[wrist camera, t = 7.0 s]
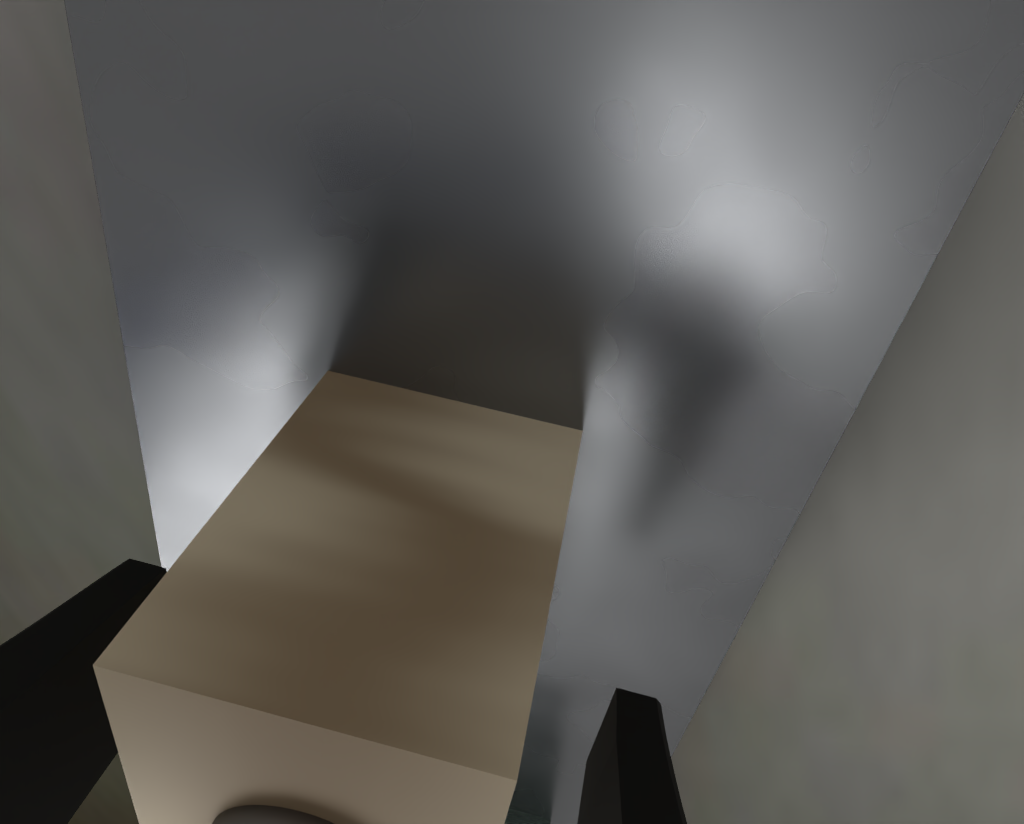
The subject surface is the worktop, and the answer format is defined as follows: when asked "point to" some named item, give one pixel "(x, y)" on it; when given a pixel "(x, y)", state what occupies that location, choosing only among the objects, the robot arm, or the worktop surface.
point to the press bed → (543, 265)
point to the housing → (351, 621)
